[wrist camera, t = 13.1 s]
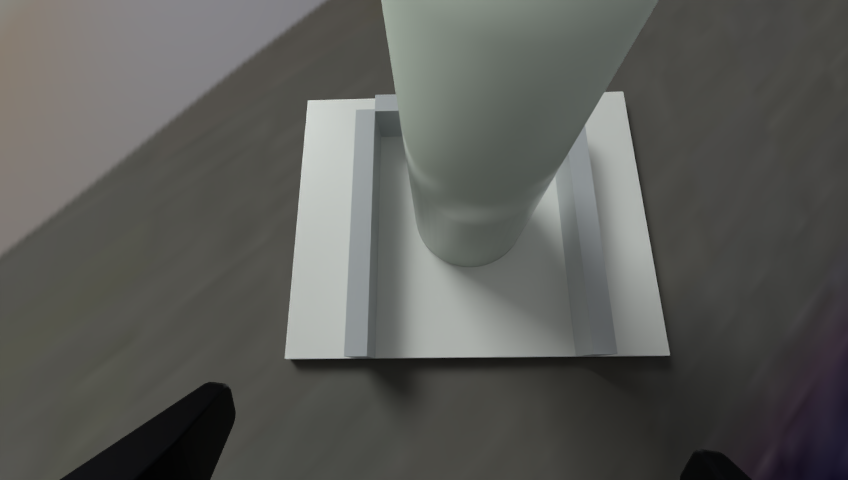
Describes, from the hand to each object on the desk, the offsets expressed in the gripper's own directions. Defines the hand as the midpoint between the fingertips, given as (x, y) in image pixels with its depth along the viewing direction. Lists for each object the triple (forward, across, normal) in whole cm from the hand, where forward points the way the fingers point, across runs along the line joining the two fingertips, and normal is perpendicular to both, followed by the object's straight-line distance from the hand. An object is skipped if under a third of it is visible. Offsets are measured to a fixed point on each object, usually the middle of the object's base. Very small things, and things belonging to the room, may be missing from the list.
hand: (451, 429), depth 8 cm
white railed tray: (+12, 0, +1) cm, 12 cm away
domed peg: (+11, 0, 0) cm, 11 cm away
